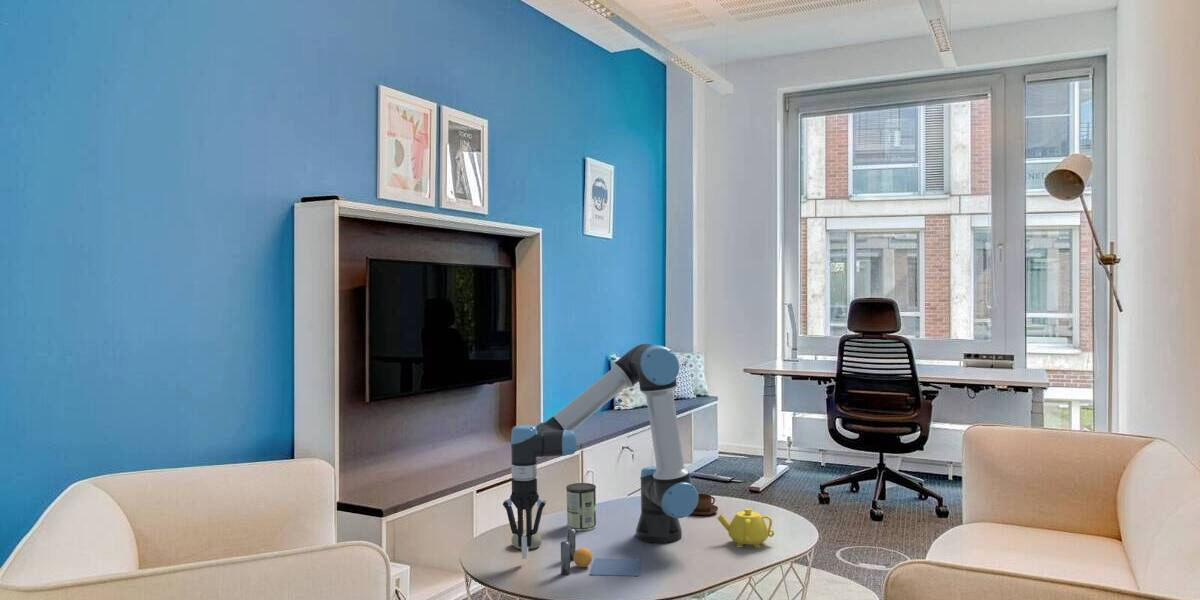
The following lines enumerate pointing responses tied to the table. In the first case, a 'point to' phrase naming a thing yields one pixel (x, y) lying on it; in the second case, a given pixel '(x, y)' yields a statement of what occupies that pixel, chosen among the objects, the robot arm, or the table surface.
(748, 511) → the teapot
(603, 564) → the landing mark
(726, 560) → the table surface
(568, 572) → the post
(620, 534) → the table surface
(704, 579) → the table surface
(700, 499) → the cup and saucer
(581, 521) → the coffee can
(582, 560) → the ball
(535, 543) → the sea urchin shell
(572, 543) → the post
